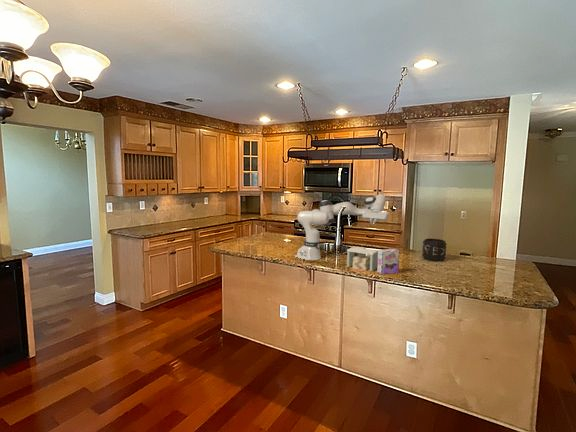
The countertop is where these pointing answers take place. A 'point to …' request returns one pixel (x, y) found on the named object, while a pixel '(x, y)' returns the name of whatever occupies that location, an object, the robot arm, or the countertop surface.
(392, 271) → the candy box
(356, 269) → the trap pit
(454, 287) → the countertop surface
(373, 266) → the tunnel
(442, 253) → the lettered black canister
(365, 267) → the birch block
